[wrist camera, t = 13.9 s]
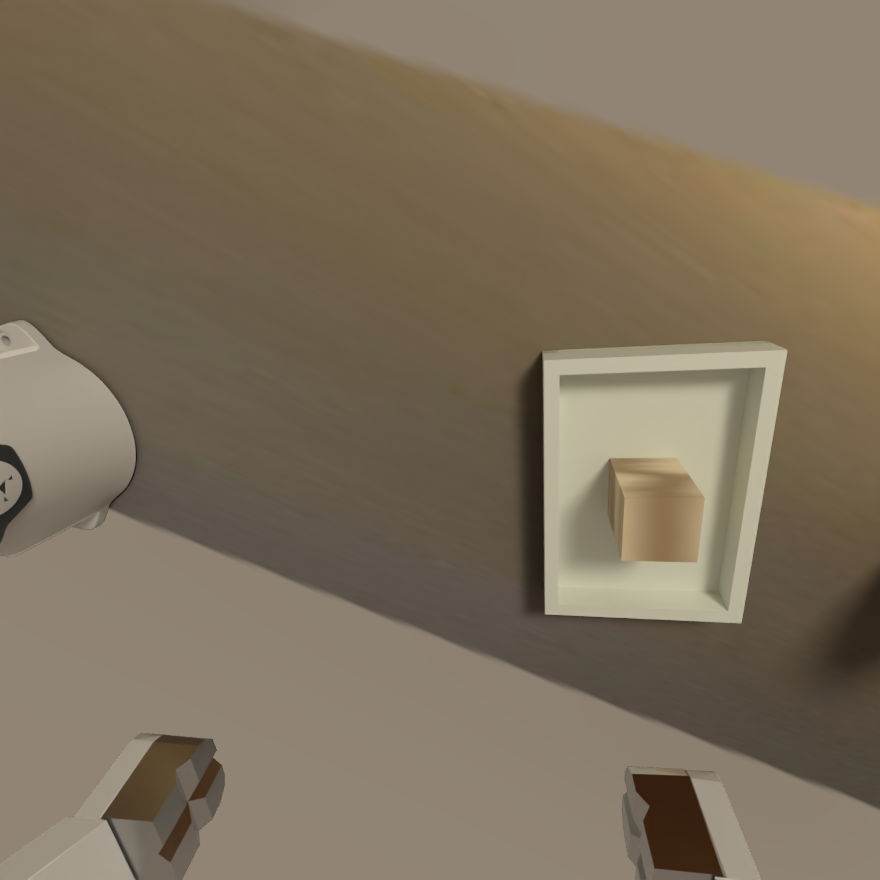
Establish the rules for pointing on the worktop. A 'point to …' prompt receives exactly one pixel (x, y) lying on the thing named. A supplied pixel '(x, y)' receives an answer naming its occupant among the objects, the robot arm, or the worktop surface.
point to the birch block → (654, 510)
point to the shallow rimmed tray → (655, 436)
